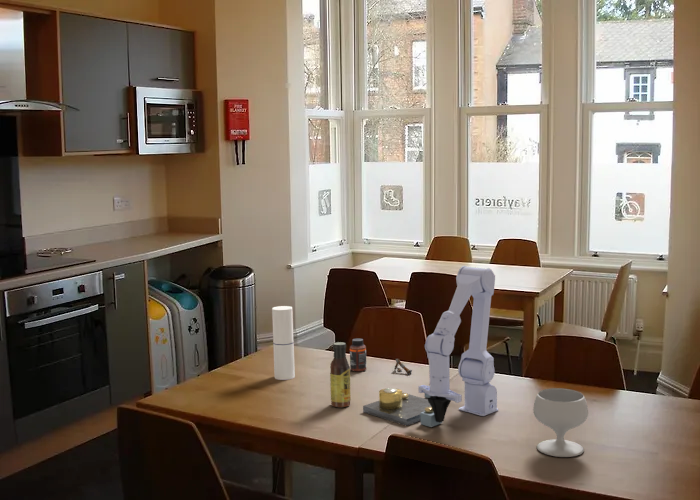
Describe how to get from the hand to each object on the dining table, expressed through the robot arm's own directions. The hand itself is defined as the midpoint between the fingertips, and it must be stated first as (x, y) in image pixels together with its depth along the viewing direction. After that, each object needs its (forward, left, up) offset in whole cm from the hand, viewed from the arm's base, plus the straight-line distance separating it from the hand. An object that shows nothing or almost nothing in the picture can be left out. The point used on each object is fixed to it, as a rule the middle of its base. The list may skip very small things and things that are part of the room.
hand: (439, 421), depth 232 cm
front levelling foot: (+19, -19, -1) cm, 27 cm away
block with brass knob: (+3, 0, -1) cm, 3 cm away
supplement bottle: (+61, -26, -2) cm, 66 cm away
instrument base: (+17, -3, -2) cm, 17 cm away
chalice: (-34, -8, -2) cm, 35 cm away
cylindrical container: (+74, -2, -2) cm, 74 cm away
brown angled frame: (+46, -34, -2) cm, 57 cm away
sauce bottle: (+36, +6, -2) cm, 36 cm away
